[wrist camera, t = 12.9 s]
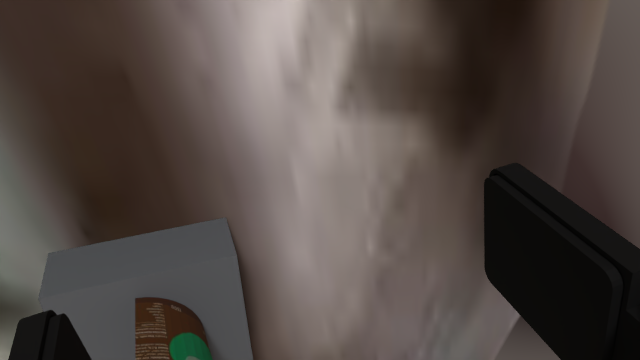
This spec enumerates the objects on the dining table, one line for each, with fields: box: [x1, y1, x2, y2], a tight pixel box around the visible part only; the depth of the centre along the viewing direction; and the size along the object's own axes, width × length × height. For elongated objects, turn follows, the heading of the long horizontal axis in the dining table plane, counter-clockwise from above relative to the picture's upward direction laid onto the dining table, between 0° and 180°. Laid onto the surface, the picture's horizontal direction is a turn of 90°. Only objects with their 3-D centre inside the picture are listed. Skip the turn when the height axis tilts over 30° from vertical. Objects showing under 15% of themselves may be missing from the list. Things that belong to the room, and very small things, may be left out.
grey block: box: [38, 218, 253, 360], centre depth 45 cm, size 14×14×6 cm
